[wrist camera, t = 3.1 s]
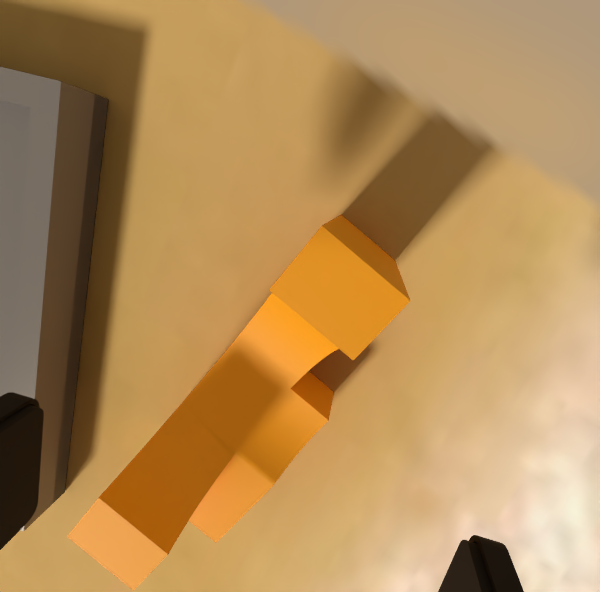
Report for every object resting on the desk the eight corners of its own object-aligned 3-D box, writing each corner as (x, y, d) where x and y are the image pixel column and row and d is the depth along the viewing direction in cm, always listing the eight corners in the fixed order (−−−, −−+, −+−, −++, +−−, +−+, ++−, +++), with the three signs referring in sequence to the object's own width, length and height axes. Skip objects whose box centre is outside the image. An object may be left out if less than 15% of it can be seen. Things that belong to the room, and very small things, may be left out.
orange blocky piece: (241, 486, 19) (178, 627, 13) (166, 424, 19) (67, 536, 13) (430, 290, 16) (469, 351, 9) (341, 214, 16) (322, 225, 9)
